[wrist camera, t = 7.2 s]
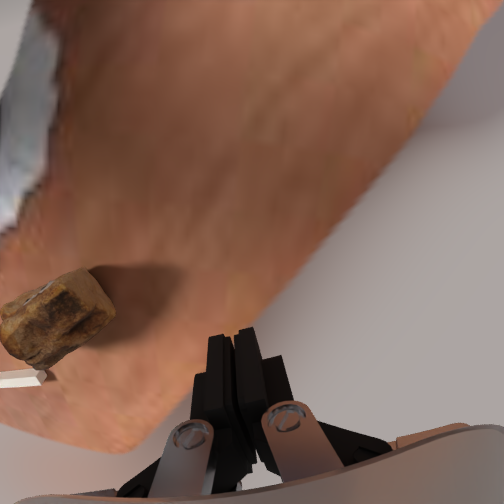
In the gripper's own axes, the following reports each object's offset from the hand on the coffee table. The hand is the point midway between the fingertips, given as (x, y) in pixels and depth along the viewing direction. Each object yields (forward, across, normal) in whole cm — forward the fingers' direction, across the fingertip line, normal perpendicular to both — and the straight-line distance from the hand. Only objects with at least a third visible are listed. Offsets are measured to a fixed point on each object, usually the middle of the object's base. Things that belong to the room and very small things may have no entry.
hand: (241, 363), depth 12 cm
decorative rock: (+11, +13, -1) cm, 17 cm away
